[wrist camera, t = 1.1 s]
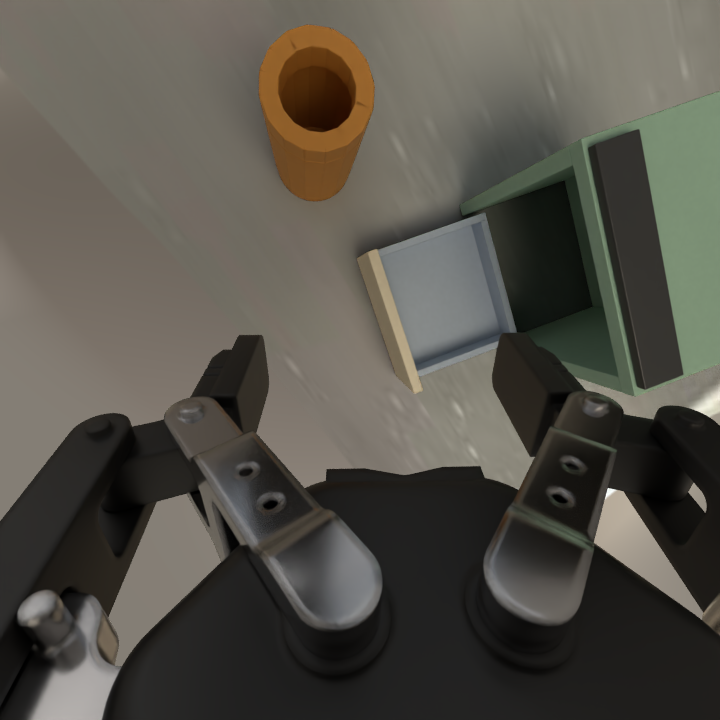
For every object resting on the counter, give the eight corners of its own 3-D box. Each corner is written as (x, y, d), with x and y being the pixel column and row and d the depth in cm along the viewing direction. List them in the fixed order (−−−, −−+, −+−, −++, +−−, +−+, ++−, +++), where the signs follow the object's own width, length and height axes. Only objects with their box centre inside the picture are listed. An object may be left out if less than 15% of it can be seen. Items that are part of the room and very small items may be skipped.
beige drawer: (356, 258, 36) (366, 251, 29) (471, 217, 36) (507, 202, 30) (396, 376, 38) (414, 394, 32) (504, 336, 39) (543, 345, 32)
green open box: (459, 205, 36) (589, 134, 19) (571, 165, 37) (791, 64, 20) (499, 352, 39) (643, 400, 22) (603, 313, 40) (819, 331, 23)
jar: (265, 137, 33) (240, 44, 21) (335, 114, 34) (352, 9, 21) (292, 211, 35) (284, 166, 22) (359, 188, 35) (389, 131, 22)
